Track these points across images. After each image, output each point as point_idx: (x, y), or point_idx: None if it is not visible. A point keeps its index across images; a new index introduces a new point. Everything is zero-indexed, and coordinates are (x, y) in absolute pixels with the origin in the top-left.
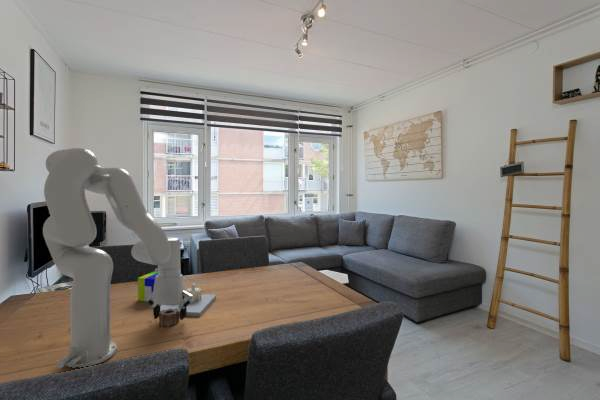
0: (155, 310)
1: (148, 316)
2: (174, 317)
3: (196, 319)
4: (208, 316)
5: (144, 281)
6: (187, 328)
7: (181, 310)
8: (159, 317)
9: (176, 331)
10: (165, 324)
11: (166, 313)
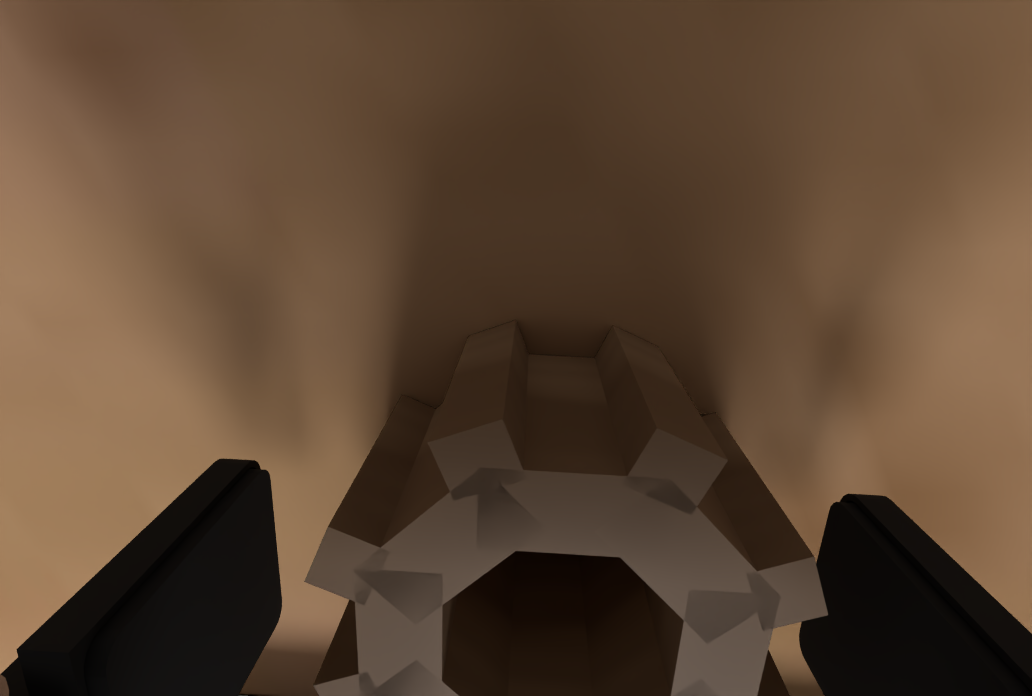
0: (995, 653)
1: None
2: (367, 473)
3: None
4: None
5: None
6: (84, 266)
7: (61, 617)
8: (760, 489)
9: (226, 126)
10: (567, 366)
11: (650, 643)
